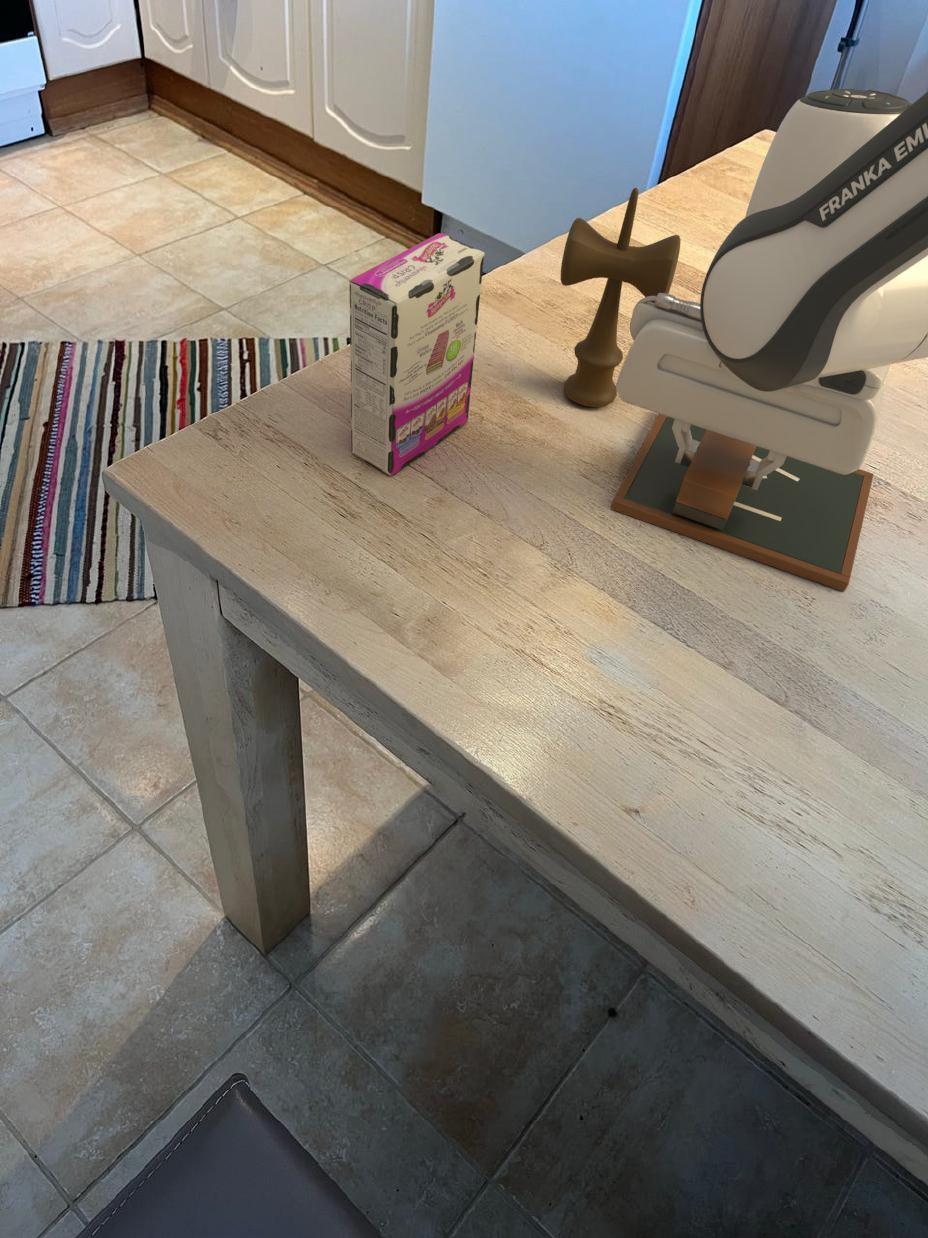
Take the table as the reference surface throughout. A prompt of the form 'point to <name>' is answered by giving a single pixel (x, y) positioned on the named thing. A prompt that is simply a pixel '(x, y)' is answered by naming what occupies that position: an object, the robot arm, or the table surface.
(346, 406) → the table surface
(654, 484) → the chalkboard
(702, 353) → the robot arm
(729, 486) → the eraser
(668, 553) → the table surface
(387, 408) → the candy bar box
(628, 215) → the kendama
